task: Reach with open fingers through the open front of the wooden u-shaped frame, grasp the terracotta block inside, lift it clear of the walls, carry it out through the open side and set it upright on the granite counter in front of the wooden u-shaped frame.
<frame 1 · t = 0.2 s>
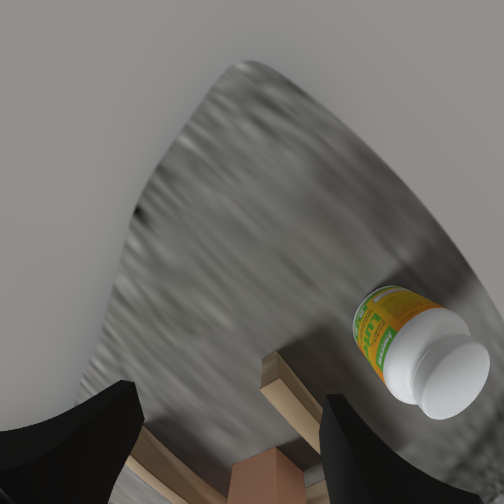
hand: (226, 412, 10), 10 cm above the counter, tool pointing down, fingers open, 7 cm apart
supplement bottle: (385, 320, 19), on the counter
block: (268, 469, 21), resting in wooden u-shaped frame
wooden u-shaped frame: (255, 458, 21), on the counter
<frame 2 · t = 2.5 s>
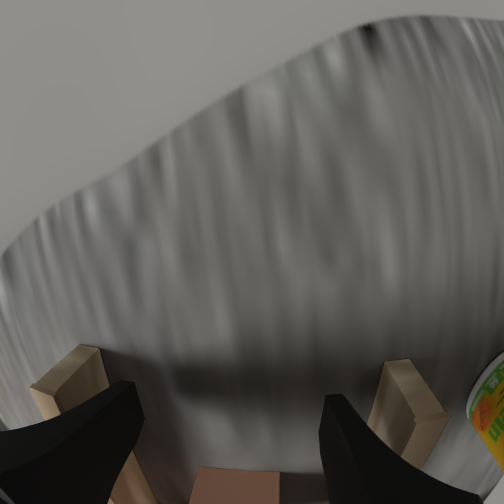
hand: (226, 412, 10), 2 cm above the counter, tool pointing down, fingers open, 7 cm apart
supplement bottle: (496, 381, 11), on the counter
block: (240, 488, 13), resting in wooden u-shaped frame
wooden u-shaped frame: (238, 473, 13), on the counter
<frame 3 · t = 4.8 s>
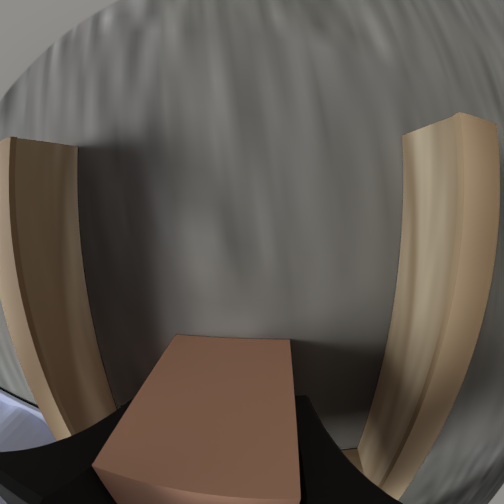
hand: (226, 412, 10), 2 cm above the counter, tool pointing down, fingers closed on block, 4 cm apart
block: (233, 383, 12), resting in wooden u-shaped frame, touching gripper
wooden u-shaped frame: (231, 344, 11), on the counter
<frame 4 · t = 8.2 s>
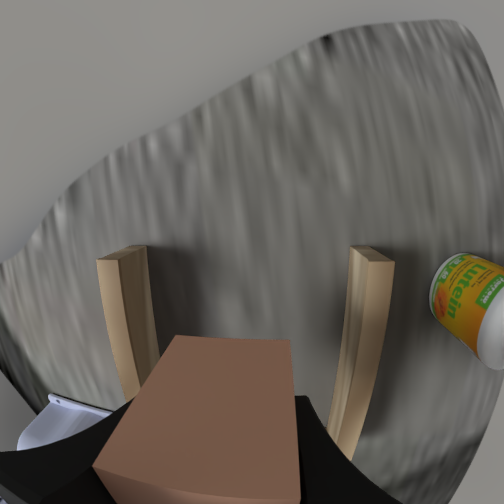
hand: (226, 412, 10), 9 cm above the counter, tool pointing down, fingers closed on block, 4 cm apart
supplement bottle: (455, 287, 17), on the counter
block: (233, 383, 12), point 7 cm above the counter, touching gripper
wooden u-shaped frame: (247, 361, 19), on the counter
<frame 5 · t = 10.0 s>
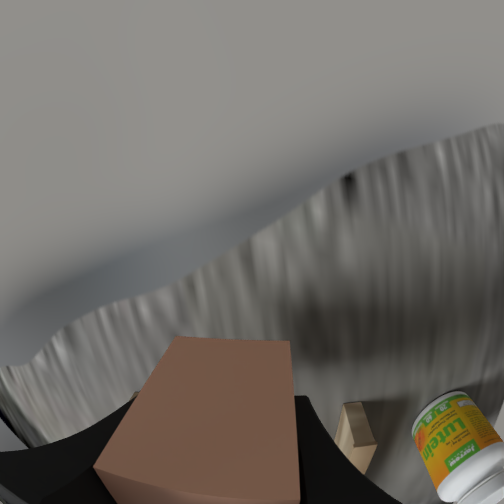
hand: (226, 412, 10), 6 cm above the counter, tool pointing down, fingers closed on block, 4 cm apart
supplement bottle: (439, 414, 16), on the counter
block: (233, 384, 12), point 4 cm above the counter, touching gripper
wooden u-shaped frame: (246, 472, 18), on the counter
when the fingers open (3 cm above the counter, at t = 11.5 s): block drops 2 cm, on the counter.
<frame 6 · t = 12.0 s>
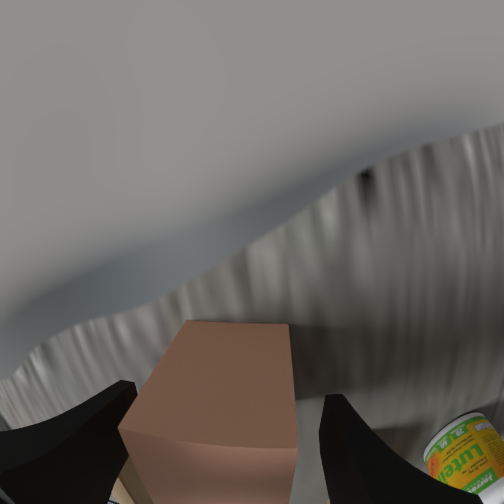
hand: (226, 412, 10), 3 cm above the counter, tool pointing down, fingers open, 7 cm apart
supplement bottle: (453, 436, 14), on the counter
block: (237, 365, 13), on the counter
wooden u-shaped frame: (243, 498, 16), on the counter
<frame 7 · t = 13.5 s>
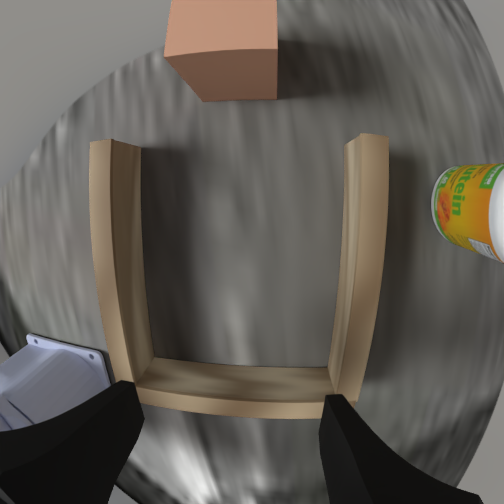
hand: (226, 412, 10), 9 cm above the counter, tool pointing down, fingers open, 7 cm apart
supplement bottle: (457, 205, 16), on the counter
block: (240, 68, 16), on the counter
wooden u-shaped frame: (237, 273, 18), on the counter
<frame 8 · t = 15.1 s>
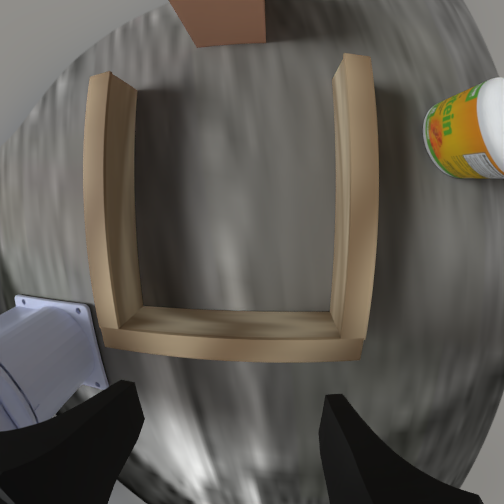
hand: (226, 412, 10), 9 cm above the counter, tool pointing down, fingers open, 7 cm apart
supplement bottle: (450, 140, 16), on the counter
block: (231, 19, 15), on the counter
wooden u-shaped frame: (230, 203, 17), on the counter
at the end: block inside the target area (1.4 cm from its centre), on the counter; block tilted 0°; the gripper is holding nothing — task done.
